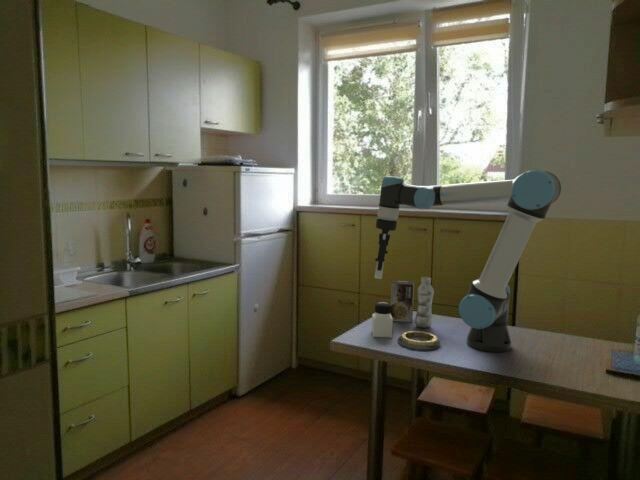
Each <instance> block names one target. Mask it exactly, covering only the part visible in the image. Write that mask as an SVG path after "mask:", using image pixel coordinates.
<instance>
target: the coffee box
mask: <svg viewBox="0 0 640 480" xmlns="http://www.w3.org/2000/svg"><path fill="white" fill-rule="evenodd" d="M414 287H415V281H409V280H397V279H396V280H392V282H391V289H390V290H391V294H390V295H391V296H390V305H391V316H392V318H393V322H401V323H403V322H404V323H413V318H414V317H413V316H414V315H413V313H414V294H415V292H414V290H415V289H414Z"/></svg>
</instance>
